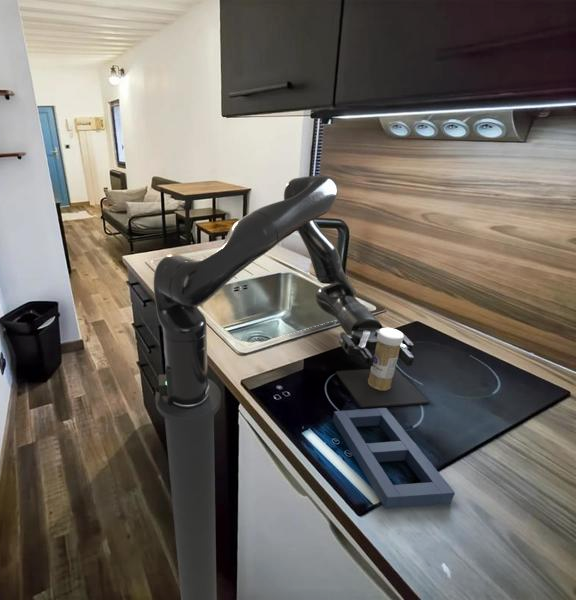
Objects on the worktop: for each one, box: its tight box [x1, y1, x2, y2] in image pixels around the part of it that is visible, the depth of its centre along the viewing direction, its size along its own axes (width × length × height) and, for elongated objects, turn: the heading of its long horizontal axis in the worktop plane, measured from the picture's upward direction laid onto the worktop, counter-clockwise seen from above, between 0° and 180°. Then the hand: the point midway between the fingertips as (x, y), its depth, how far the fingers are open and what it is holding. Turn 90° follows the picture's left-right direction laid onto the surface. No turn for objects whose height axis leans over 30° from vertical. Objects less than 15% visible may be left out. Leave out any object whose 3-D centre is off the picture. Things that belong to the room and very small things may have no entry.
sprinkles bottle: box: [368, 327, 405, 391], centre depth 77 cm, size 5×5×13 cm
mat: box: [335, 367, 430, 409], centre depth 80 cm, size 14×12×1 cm
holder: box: [332, 407, 456, 509], centre depth 63 cm, size 10×18×2 cm, turn 2°
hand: (391, 362), depth 74 cm, fingers open, 7 cm apart
